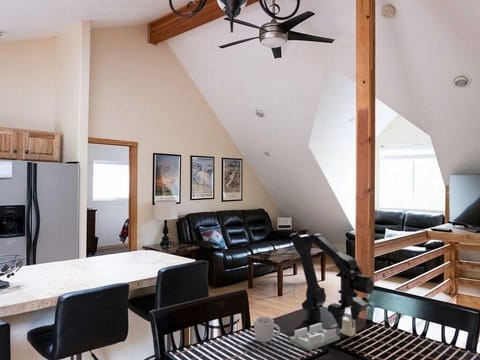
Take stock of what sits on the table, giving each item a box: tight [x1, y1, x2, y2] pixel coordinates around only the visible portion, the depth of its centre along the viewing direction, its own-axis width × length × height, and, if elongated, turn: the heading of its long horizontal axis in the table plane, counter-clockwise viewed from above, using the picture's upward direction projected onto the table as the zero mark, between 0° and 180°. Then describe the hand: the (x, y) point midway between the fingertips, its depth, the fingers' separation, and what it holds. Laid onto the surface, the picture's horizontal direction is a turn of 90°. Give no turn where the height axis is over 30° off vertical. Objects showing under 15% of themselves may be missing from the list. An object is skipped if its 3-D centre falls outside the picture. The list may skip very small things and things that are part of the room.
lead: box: [329, 323, 338, 329], centre depth 168 cm, size 8×1×1 cm, turn 126°
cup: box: [253, 316, 281, 343], centre depth 152 cm, size 11×8×8 cm
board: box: [289, 322, 341, 351], centre depth 153 cm, size 11×17×4 cm, turn 126°
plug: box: [340, 316, 356, 337], centre depth 159 cm, size 6×3×6 cm, turn 36°
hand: (347, 326), depth 159 cm, fingers open, 9 cm apart
